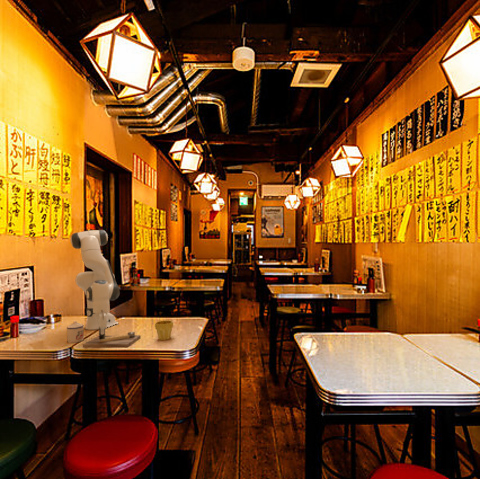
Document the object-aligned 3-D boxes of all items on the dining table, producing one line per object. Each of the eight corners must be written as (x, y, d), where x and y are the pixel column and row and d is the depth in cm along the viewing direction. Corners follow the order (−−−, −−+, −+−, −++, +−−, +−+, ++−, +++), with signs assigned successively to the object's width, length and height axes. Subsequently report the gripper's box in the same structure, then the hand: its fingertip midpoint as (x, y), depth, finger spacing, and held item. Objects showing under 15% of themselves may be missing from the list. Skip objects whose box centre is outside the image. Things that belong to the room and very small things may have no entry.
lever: (134, 335, 199) (133, 321, 200) (135, 337, 196) (135, 322, 196) (98, 340, 190) (98, 325, 190) (99, 342, 186) (99, 327, 187)
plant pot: (164, 342, 190) (164, 324, 190) (151, 339, 195) (151, 323, 196) (177, 337, 199) (176, 321, 199) (164, 335, 204) (163, 319, 204)
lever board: (99, 338, 203) (99, 335, 203) (140, 337, 200) (140, 335, 200) (82, 347, 185) (82, 344, 185) (127, 347, 182) (127, 343, 182)
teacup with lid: (78, 343, 193) (77, 323, 193) (63, 343, 194) (63, 323, 194) (89, 337, 205) (89, 318, 205) (76, 337, 206) (75, 318, 206)
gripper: (109, 311, 182) (110, 336, 181) (105, 305, 200) (106, 328, 200) (96, 312, 179) (97, 338, 179) (94, 307, 197) (94, 330, 197)
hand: (102, 333), depth 189 cm, fingers open, 3 cm apart
